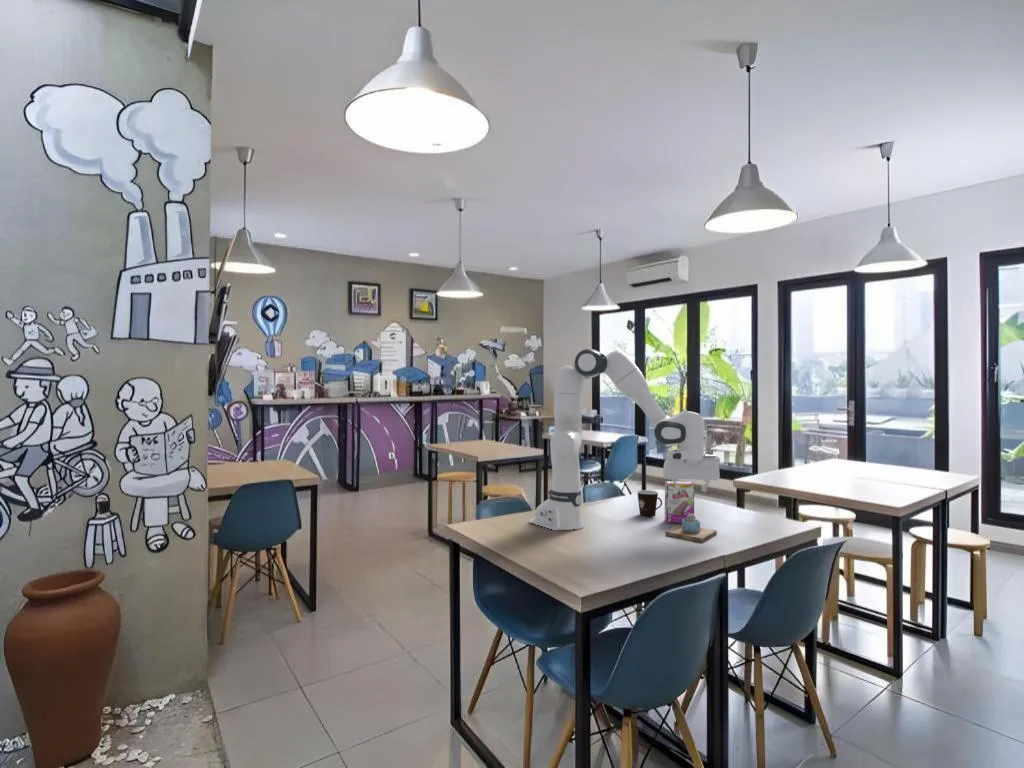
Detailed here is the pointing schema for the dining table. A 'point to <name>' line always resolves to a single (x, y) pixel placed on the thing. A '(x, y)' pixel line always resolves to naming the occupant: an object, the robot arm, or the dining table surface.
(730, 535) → the dining table surface
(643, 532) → the dining table surface
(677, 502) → the candy bar box
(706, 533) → the shaft stand
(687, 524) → the blue faceted pot
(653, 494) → the coffee mug
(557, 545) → the dining table surface
